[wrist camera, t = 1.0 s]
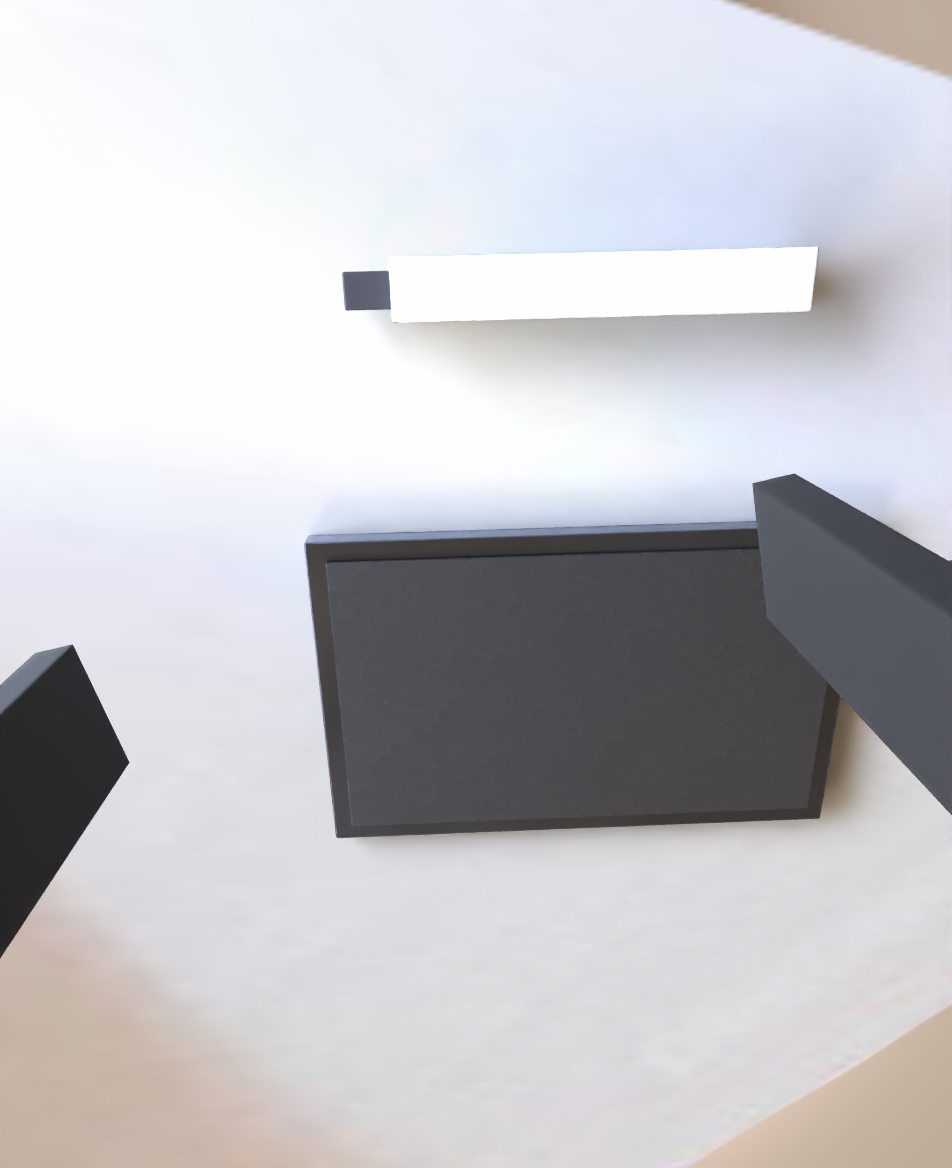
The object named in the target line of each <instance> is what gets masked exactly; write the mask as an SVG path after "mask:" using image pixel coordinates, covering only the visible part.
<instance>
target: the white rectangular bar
mask: <svg viewBox="0 0 952 1168" xmlns="http://www.w3.org/2000/svg"><path fill="white" fill-rule="evenodd" d="M818 251H819V247H784V248H743V249H703V250H663V251H622V252H582V253H541V254H501V255H461V256H420V257H390V258H389V271H365V272H343V273H342V277H343V290H344V302H345V310H383V309H392V322H394V323H400V322H438V321H475V320H513V319H551V318H589V317H627V316H664V315H702V314H740V313H778V312H810V311H811V306H812V298H813V290H814V282H815V274H816V267H817V259H818Z"/></svg>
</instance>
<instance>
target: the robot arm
mask: <svg viewBox="0 0 952 1168" xmlns="http://www.w3.org/2000/svg"><path fill="white" fill-rule="evenodd" d="M753 493H754V502H755V511H756V520H757V529H758V539H759V548H760V557H761V566H762V575H763V584H764V594H765V603H766V612H767V618H768V619H769V620H770V621H771V622H772V624H773V625H774V626H775V627H776V628H777V629H778V630H779V631H780V632H781V633H782V634H783V635H784V636H785V637H786V638H787V640H788V641H789V642H790V643H791V644H792V645H793V646H794V647H795V648H796V649H797V650H798V651H799V652H800V653H801V655H802V656H803V657H804V658H805V659H806V660H807V661H808V662H809V663H810V664H811V665H812V666H813V667H814V668H815V669H816V671H817V672H818V673H819V674H820V675H821V676H822V677H823V678H824V679H825V680H826V681H827V682H828V683H829V684H830V686H831V687H832V688H833V689H834V690H835V691H836V692H837V693H838V694H839V695H840V696H841V697H842V698H843V699H844V700H845V702H846V703H847V704H848V705H849V706H850V707H851V708H852V709H853V710H854V711H855V712H856V713H857V714H858V715H859V717H860V718H861V719H862V720H863V721H864V722H865V723H866V724H867V725H868V726H869V727H870V728H871V729H872V730H873V731H874V733H875V734H876V735H877V736H878V737H879V738H880V739H881V740H882V741H883V742H884V743H885V744H886V745H887V746H888V748H889V749H890V750H891V751H892V752H893V753H894V754H895V755H896V756H897V757H898V758H899V759H900V760H901V761H902V762H903V764H904V765H905V766H906V767H907V768H908V769H909V770H910V771H911V772H912V773H913V774H914V775H915V776H916V777H917V779H918V780H919V781H920V782H921V783H922V784H923V785H924V786H925V787H926V788H927V789H928V790H929V791H930V792H931V793H932V795H933V796H934V797H935V798H936V799H937V800H938V801H939V802H940V803H941V804H942V805H943V806H944V807H945V808H946V810H947V811H948V812H949V813H950V814H951V815H952V560H950V561H948V560H946V559H944V558H942V557H940V556H939V555H937V554H935V553H933V552H932V551H930V550H928V549H926V548H925V547H923V546H921V545H919V544H918V543H916V542H914V541H912V540H910V539H909V538H907V537H905V536H903V535H902V534H900V533H898V532H896V531H895V530H893V529H891V528H889V527H888V526H886V525H884V524H882V523H881V522H879V521H877V520H875V519H873V518H872V517H870V516H868V515H866V514H865V513H863V512H861V511H859V510H858V509H856V508H854V507H852V506H851V505H849V504H847V503H845V502H844V501H842V500H840V499H838V498H836V497H835V496H833V495H831V494H829V493H828V492H826V491H824V490H822V489H821V488H819V487H817V486H815V485H814V484H812V483H810V482H808V481H806V480H805V479H803V478H801V477H799V476H798V475H796V474H791V475H786V476H782V477H778V478H774V479H769V480H765V481H761V482H757V483H753ZM128 764H129V761H128V759H127V756H126V754H125V752H124V750H123V748H122V746H121V744H120V742H119V740H118V738H117V736H116V734H115V732H114V729H113V727H112V725H111V723H110V721H109V719H108V717H107V715H106V713H105V711H104V709H103V707H102V704H101V702H100V700H99V698H98V696H97V694H96V692H95V690H94V688H93V686H92V684H91V682H90V680H89V677H88V675H87V673H86V671H85V669H84V667H83V665H82V663H81V661H80V659H79V657H78V655H77V652H76V650H75V648H74V646H73V645H69V646H64V647H60V648H56V649H52V650H47V651H43V652H39V653H35V654H34V655H33V656H32V657H31V658H29V659H28V660H27V661H26V662H25V663H24V664H23V665H22V666H21V667H20V668H18V669H17V670H16V671H15V672H14V673H13V674H12V675H11V676H10V677H9V678H7V679H6V680H5V681H4V682H3V683H2V684H1V685H0V958H1V956H2V955H3V953H4V952H5V950H6V949H7V947H8V946H9V944H10V943H11V941H12V940H13V938H14V937H15V935H16V934H17V932H18V931H19V929H20V928H21V926H22V925H23V923H24V922H25V920H26V918H27V917H28V915H29V914H30V912H31V911H32V909H33V908H34V906H35V905H36V903H37V902H38V900H39V899H40V897H41V896H42V894H43V893H44V891H45V890H46V888H47V887H48V885H49V884H50V882H51V881H52V879H53V878H54V876H55V875H56V873H57V871H58V870H59V868H60V867H61V865H62V864H63V862H64V861H65V859H66V858H67V856H68V855H69V853H70V852H71V850H72V849H73V847H74V846H75V844H76V843H77V841H78V840H79V838H80V837H81V835H82V834H83V832H84V831H85V829H86V827H87V826H88V824H89V823H90V821H91V820H92V818H93V817H94V815H95V814H96V812H97V811H98V809H99V808H100V806H101V805H102V803H103V802H104V800H105V799H106V797H107V796H108V794H109V793H110V791H111V790H112V788H113V787H114V785H115V783H116V782H117V780H118V779H119V777H120V776H121V774H122V773H123V771H124V770H125V768H126V767H127V765H128Z"/></svg>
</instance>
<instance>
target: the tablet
mask: <svg viewBox="0 0 952 1168" xmlns="http://www.w3.org/2000/svg"><path fill="white" fill-rule="evenodd" d="M304 548H305V558H306V567H307V576H308V585H309V594H310V603H311V612H312V621H313V630H314V639H315V649H316V658H317V667H318V676H319V685H320V694H321V703H322V712H323V721H324V731H325V740H326V749H327V758H328V767H329V776H330V785H331V794H332V803H333V812H334V822H335V831H336V837H337V838H352V837H377V836H401V835H426V834H451V833H475V832H500V831H525V830H550V829H574V828H599V827H624V826H648V825H673V824H698V823H723V822H747V821H772V820H797V819H819V818H820V814H821V808H822V803H823V797H824V791H825V785H826V779H827V773H828V767H829V761H830V755H831V749H832V743H833V737H834V731H835V725H836V719H837V713H838V707H839V701H840V695H839V694H838V693H837V692H836V691H835V690H834V689H833V688H832V687H831V686H830V684H829V683H828V682H827V681H826V680H825V679H824V678H823V677H822V676H821V675H820V674H819V673H818V672H817V671H816V669H815V668H814V667H813V666H812V665H811V664H810V663H809V662H808V661H807V660H806V659H805V658H804V657H803V656H802V655H801V653H800V652H799V651H798V650H797V649H796V648H795V647H794V646H793V645H792V644H791V643H790V642H789V641H788V640H787V638H786V637H785V636H784V635H783V634H782V633H781V632H780V631H779V630H778V629H777V628H776V627H775V626H774V625H773V624H772V622H771V621H770V620H769V619H768V618H767V612H766V603H765V594H764V584H763V575H762V566H761V557H760V548H759V539H758V529H757V521H750V522H719V523H688V524H657V525H626V526H595V527H564V528H533V529H502V530H471V531H440V532H409V533H378V534H347V535H316V536H308V538H307V539H306V541H305V543H304Z"/></svg>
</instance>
